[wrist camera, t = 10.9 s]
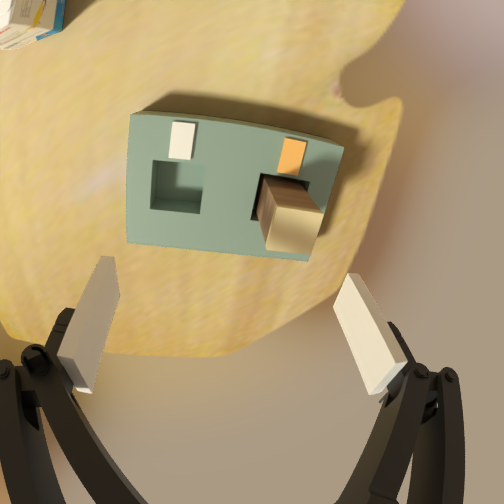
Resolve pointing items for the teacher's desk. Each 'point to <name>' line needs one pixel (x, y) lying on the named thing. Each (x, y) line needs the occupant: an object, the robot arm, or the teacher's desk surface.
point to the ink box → (29, 21)
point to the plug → (286, 214)
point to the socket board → (215, 179)
